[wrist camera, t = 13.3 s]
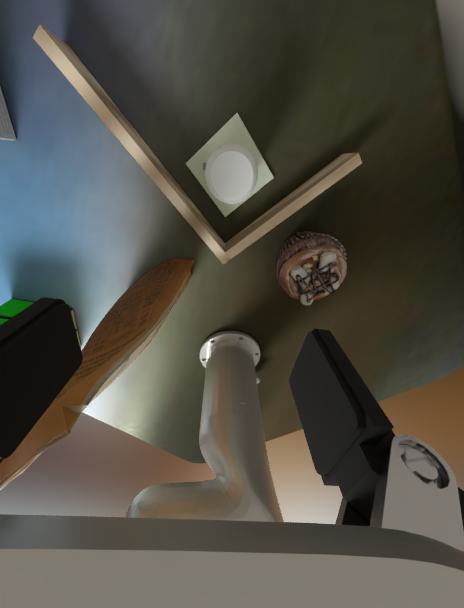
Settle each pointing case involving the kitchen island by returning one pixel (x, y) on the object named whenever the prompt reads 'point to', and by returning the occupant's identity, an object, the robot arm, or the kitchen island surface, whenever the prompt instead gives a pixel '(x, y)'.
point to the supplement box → (5, 121)
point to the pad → (227, 134)
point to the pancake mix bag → (104, 358)
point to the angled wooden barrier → (163, 179)
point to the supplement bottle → (231, 173)
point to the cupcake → (311, 266)
